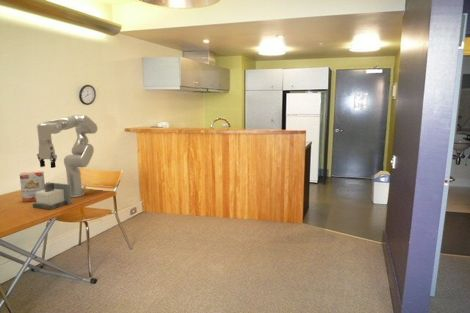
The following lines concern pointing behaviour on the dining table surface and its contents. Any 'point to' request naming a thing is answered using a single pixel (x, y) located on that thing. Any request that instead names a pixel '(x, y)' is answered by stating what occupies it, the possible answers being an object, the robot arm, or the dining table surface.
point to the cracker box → (31, 185)
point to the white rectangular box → (50, 195)
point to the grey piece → (67, 202)
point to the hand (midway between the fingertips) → (48, 167)
